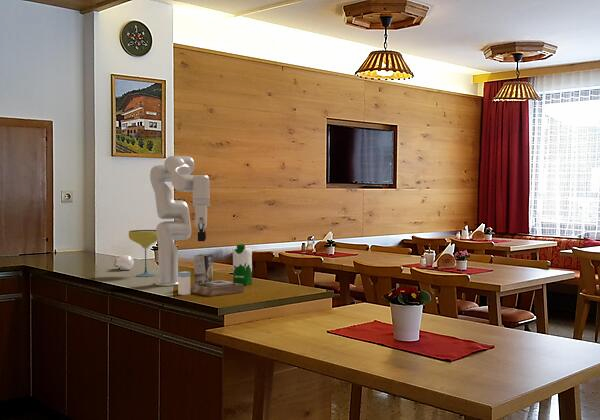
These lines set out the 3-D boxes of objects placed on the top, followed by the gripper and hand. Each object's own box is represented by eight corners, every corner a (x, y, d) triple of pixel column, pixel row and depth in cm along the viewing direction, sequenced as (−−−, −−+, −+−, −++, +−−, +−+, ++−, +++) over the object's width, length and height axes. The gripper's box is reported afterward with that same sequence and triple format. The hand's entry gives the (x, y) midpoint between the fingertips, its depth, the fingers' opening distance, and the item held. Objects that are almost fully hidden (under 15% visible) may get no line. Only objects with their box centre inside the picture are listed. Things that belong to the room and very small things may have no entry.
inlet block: (205, 290, 309) (205, 282, 309) (221, 288, 315) (221, 280, 315) (216, 292, 303) (216, 284, 303) (233, 290, 309) (232, 282, 309)
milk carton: (230, 285, 331) (230, 245, 331) (238, 283, 340) (238, 243, 339) (247, 286, 328) (246, 245, 328) (254, 283, 337) (254, 244, 336)
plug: (177, 294, 304) (177, 272, 304) (185, 293, 307) (185, 271, 306) (182, 295, 301) (182, 272, 300) (190, 294, 304) (190, 272, 303)
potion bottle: (127, 273, 393) (117, 274, 405) (139, 263, 399) (129, 264, 410) (118, 261, 391) (108, 262, 402) (130, 251, 396) (120, 252, 408)
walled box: (191, 292, 308) (191, 284, 308) (223, 288, 320) (223, 281, 320) (210, 296, 296) (210, 288, 296) (243, 292, 308) (243, 284, 308)
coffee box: (207, 289, 317) (206, 255, 317) (194, 289, 319) (193, 255, 318) (213, 286, 326) (213, 253, 326) (200, 286, 328) (200, 253, 327)
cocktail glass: (143, 273, 384) (142, 229, 383) (169, 274, 376) (168, 230, 375) (122, 276, 367) (121, 231, 367) (148, 278, 360) (148, 232, 359)
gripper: (193, 202, 310) (194, 239, 310) (191, 202, 293) (192, 242, 293) (210, 202, 311) (210, 239, 311) (209, 202, 293) (209, 241, 294)
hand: (201, 240), depth 302 cm, fingers open, 9 cm apart
